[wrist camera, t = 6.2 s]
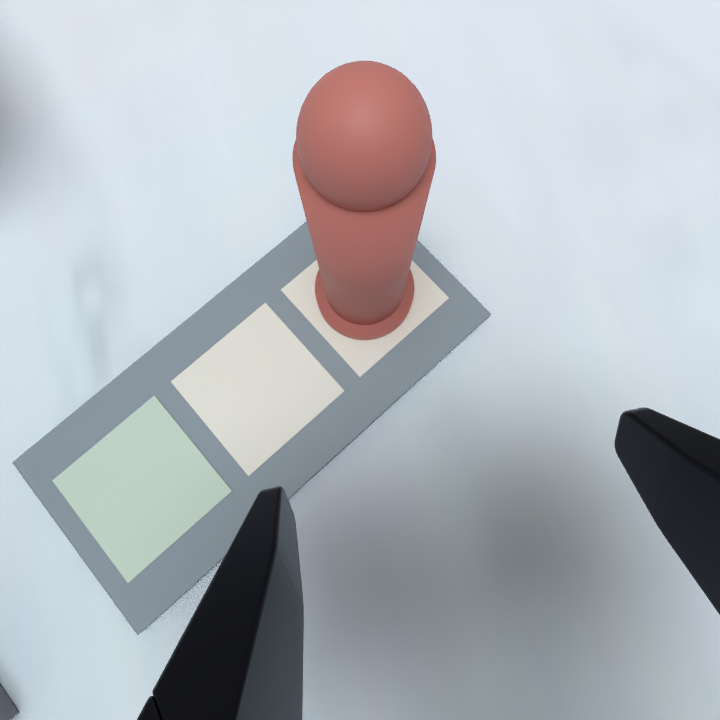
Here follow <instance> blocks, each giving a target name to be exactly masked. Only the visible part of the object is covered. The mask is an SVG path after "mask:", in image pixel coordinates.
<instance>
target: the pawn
mask: <svg viewBox="0 0 720 720" xmlns="http://www.w3.org/2000/svg"><path fill="white" fill-rule="evenodd" d="M435 164H436V151H435V146H434V142H433V139H432V125H431V119H430V115H429V112H428V109H427V106H426V103H425V101H424V99H423V97H422V96H421V94H420V92H419V91H418V89H417V88H416V86H415V85H414V84H413V83H412V82H411V81H410V80H409V79H408V78H407V77H406V76H405V75H403V74H402V73H401V72H399V71H398V70H396V69H394V68H392V67H390V66H388V65H385V64H382V63H378V62H374V61H356V62H351V63H347V64H344V65H341V66H339V67H337V68H335V69H333V70H331V71H330V72H328V73H327V74H325V75H324V76H323V77H322V78H321V79H320V80H319V81H318V82H317V83H316V84H315V85H314V86H313V88H312V89H311V90H310V92H309V93H308V95H307V97H306V99H305V101H304V103H303V105H302V107H301V111H300V114H299V117H298V122H297V130H296V141H295V144H294V149H293V168H294V173H295V177H296V181H297V185H298V189H299V193H300V196H301V200H302V204H303V208H304V212H305V216H306V220H307V224H308V227H309V231H310V235H311V239H312V243H313V247H314V251H315V255H316V259H317V262H318V266H319V270H318V272H317V276H316V280H315V296H316V300H317V304H318V307H319V310H320V312H321V314H322V316H323V318H324V319H325V321H326V322H327V323H328V325H329V326H331V327H332V328H333V329H334V330H335V331H337V332H338V333H340V334H341V335H343V336H346V337H348V338H352V339H356V340H373V339H377V338H381V337H383V336H386V335H388V334H389V333H391V332H393V331H394V330H395V329H397V328H398V327H399V326H400V325H401V324H402V322H403V321H404V320H405V318H406V316H407V315H408V312H409V310H410V307H411V304H412V301H413V297H414V279H413V275H412V272H411V269H410V266H411V262H412V258H413V254H414V250H415V246H416V242H417V238H418V234H419V230H420V226H421V222H422V218H423V214H424V210H425V206H426V202H427V198H428V194H429V190H430V186H431V182H432V178H433V174H434V170H435Z"/></svg>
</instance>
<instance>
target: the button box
mask: <svg viewBox="0 0 720 720" xmlns="http://www.w3.org/2000/svg"><path fill="white" fill-rule="evenodd" d="M18 713H19V712H18V710H17V709H16V707H15V706H14V704H13V703H12V701H11V700H10V698H9V697H8V695H7V694H6V692H5V691H4V689H3V687H2V686H1V684H0V720H11V719H12V718H13V717H14V716H15V715H17V714H18Z"/></svg>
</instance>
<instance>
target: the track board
mask: <svg viewBox="0 0 720 720" xmlns="http://www.w3.org/2000/svg"><path fill="white" fill-rule="evenodd" d="M410 269H411V272H412V275H413V279H414V297H413V301H412V304H411V307H410V310H409V312H408V315H407V316H406V318H405V320H404V321H403V322H402V324H401V325H400V326H399V327H398V328H397V329H395V330H394V331H393V332H391V333H389V334H388V335H386V336H383V337H381V338H377V339H373V340H356V339H352V338H348V337H346V336H343V335H341V334H340V333H338V332H337V331H335V330H334V329H333V328H332V327H331V326H329V325H328V323H327V322H326V321H325V319H324V318H323V316H322V314H321V312H320V310H319V307H318V304H317V300H316V296H315V280H316V276H317V272H318V270H319V266H318V262H317V259H316V255H315V251H314V247H313V243H312V239H311V235H310V231H309V227H308V224H307V222H305V223H304V224H303V225H302V226H300V227H299V228H298V229H297V230H296V231H294V232H293V233H292V234H291V235H289V236H288V237H287V238H286V239H285V240H283V241H282V242H281V243H280V244H278V245H277V246H276V247H275V248H274V249H272V250H271V251H270V252H269V253H267V254H266V255H265V256H264V257H263V258H261V259H260V260H259V261H258V262H256V263H255V264H254V265H253V266H252V267H250V268H249V269H248V270H247V271H246V272H244V273H243V274H242V275H241V276H239V277H238V278H237V279H236V280H235V281H233V282H232V283H231V284H230V285H228V286H227V287H226V288H225V289H224V290H222V291H221V292H220V293H219V294H217V295H216V296H215V297H214V298H213V299H211V300H210V301H209V302H208V303H206V304H205V305H204V306H203V307H202V308H200V309H199V310H198V311H197V312H195V313H194V314H193V315H192V316H191V317H189V318H188V319H187V320H186V321H184V322H183V323H182V324H181V325H180V326H178V327H177V328H176V329H175V330H174V331H172V332H171V333H170V334H169V335H167V336H166V337H165V338H164V339H163V340H161V341H160V342H159V343H158V344H156V345H155V346H154V347H153V348H152V349H150V350H149V351H148V352H147V353H145V354H144V355H143V356H142V357H141V358H139V359H138V360H137V361H136V362H134V363H133V364H132V365H131V366H130V367H128V368H127V369H126V370H125V371H123V372H122V373H121V374H120V375H119V376H117V377H116V378H115V379H114V380H112V381H111V382H110V383H109V384H108V385H106V386H105V387H104V388H103V389H102V390H100V391H99V392H98V393H97V394H95V395H94V396H93V397H92V398H91V399H89V400H88V401H87V402H86V403H84V404H83V405H82V406H81V407H80V408H78V409H77V410H76V411H75V412H73V413H72V414H71V415H70V416H69V417H67V418H66V419H65V420H64V421H62V422H61V423H60V424H59V425H58V426H56V427H55V428H54V429H53V430H51V431H50V432H49V433H48V434H47V435H45V436H44V437H43V438H42V439H40V440H39V441H38V442H37V443H36V444H34V445H33V446H32V447H31V448H30V449H28V450H27V451H26V452H25V453H23V454H22V455H21V456H20V457H19V458H17V459H16V460H15V461H14V462H12V463H13V464H14V466H15V467H16V468H17V470H18V471H19V473H20V474H21V475H22V477H23V478H24V479H25V481H26V482H27V484H28V485H29V486H30V488H31V489H32V490H33V492H34V493H35V495H36V496H37V497H38V499H39V500H40V501H41V503H42V504H43V506H44V507H45V508H46V510H47V511H48V512H49V514H50V515H51V517H52V518H53V519H54V521H55V522H56V523H57V525H58V526H59V528H60V529H61V530H62V532H63V533H64V534H65V536H66V537H67V539H68V540H69V541H70V543H71V544H72V545H73V547H74V548H75V550H76V551H77V552H78V554H79V555H80V556H81V558H82V559H83V561H84V562H85V563H86V565H87V566H88V567H89V569H90V570H91V572H92V573H93V574H94V576H95V577H96V578H97V580H98V581H99V583H100V584H101V585H102V587H103V588H104V589H105V591H106V592H107V594H108V595H109V596H110V598H111V599H112V600H113V602H114V603H115V605H116V606H117V607H118V609H119V610H120V611H121V613H122V614H123V616H124V617H125V618H126V620H127V621H128V622H129V624H130V625H131V627H132V628H133V629H134V631H135V632H136V633H137V635H138V634H140V633H141V632H142V631H143V630H144V629H145V628H147V627H148V626H149V625H150V624H151V623H152V622H153V621H154V620H155V619H156V618H158V617H159V616H160V615H161V614H162V613H163V612H164V611H165V610H166V609H167V608H169V607H170V606H171V605H172V604H173V603H174V602H175V601H176V600H177V599H178V598H180V597H181V596H182V595H183V594H184V593H185V592H186V591H187V590H188V589H189V588H191V587H192V586H193V585H194V584H195V583H196V582H197V581H198V580H199V579H200V578H202V577H203V576H204V575H205V574H206V573H207V572H208V571H209V570H210V569H211V568H213V567H214V566H215V565H216V564H217V563H218V562H219V561H220V560H221V559H222V558H224V557H225V555H226V553H227V551H228V549H229V547H230V545H231V544H232V542H233V540H234V538H235V536H236V534H237V532H238V530H239V529H240V527H241V525H242V523H243V521H244V519H245V517H246V516H247V514H248V512H249V510H250V508H251V506H252V504H253V502H254V501H255V499H256V497H257V495H258V493H259V492H260V491H261V490H263V489H268V488H272V487H277V486H281V487H283V488H284V490H285V492H286V495H287V498H288V499H289V498H290V497H291V496H292V495H293V494H294V493H295V492H296V491H297V490H298V489H300V488H301V487H302V486H303V485H304V484H305V483H306V482H307V481H308V480H309V479H311V478H312V477H313V476H314V475H315V474H316V473H317V472H318V471H319V470H320V469H322V468H323V467H324V466H325V465H326V464H327V463H328V462H329V461H330V460H331V459H333V458H334V457H335V456H336V455H337V454H338V453H339V452H340V451H341V450H342V449H344V448H345V447H346V446H347V445H348V444H349V443H350V442H351V441H352V440H353V439H355V438H356V437H357V436H358V435H359V434H360V433H361V432H362V431H363V430H364V429H366V428H367V427H368V426H369V425H370V424H371V423H372V422H373V421H374V420H375V419H377V418H378V417H379V416H380V415H381V414H382V413H383V412H384V411H385V410H386V409H388V408H389V407H390V406H391V405H392V404H393V403H394V402H395V401H396V400H397V399H399V398H400V397H401V396H402V395H403V394H404V393H405V392H406V391H407V390H408V389H410V388H411V387H412V386H413V385H414V384H415V383H416V382H417V381H418V380H420V379H421V378H422V377H423V376H424V375H425V374H426V373H427V372H428V371H429V370H431V369H432V368H433V367H434V366H435V365H436V364H437V363H438V362H439V361H440V360H442V359H443V358H444V357H445V356H446V355H447V354H448V353H449V352H450V351H451V350H453V349H454V348H455V347H456V346H457V345H458V344H459V343H460V342H461V341H462V340H464V339H465V338H466V337H467V336H468V335H469V334H470V333H471V332H472V331H473V330H475V329H476V328H477V327H478V326H479V325H480V324H481V323H482V322H483V321H484V320H486V319H487V318H488V317H489V316H490V315H491V314H490V312H489V311H488V310H487V309H486V308H485V307H484V306H483V305H482V304H481V303H480V302H479V301H478V300H477V299H476V298H475V297H474V296H473V295H472V294H471V293H470V292H469V291H468V290H467V289H466V288H465V287H464V286H463V285H462V284H461V283H460V282H459V281H458V280H457V279H456V278H455V277H454V276H453V275H452V274H451V273H450V272H449V271H448V270H447V269H446V268H445V267H444V266H443V265H442V264H441V263H440V262H439V261H438V260H437V259H436V258H435V257H434V256H433V255H432V254H431V253H430V252H429V251H428V250H427V249H426V248H425V247H424V246H423V245H422V244H421V243H420V242H419V241H418V240H417V242H416V246H415V250H414V254H413V258H412V262H411V266H410Z"/></svg>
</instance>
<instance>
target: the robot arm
mask: <svg viewBox="0 0 720 720" xmlns="http://www.w3.org/2000/svg"><path fill="white" fill-rule="evenodd" d="M615 450H616V453H617V455H618V457H619V459H620V461H621V462H622V464H623V466H624V468H625V469H626V471H627V473H628V475H629V477H630V478H631V480H632V482H633V484H634V485H635V487H636V489H637V491H638V493H639V494H640V496H641V498H642V500H643V501H644V503H645V505H646V507H647V509H648V510H649V512H650V514H651V516H652V517H653V519H654V521H655V522H656V524H657V526H658V527H659V529H660V530H661V532H662V533H663V535H664V536H665V538H666V539H667V541H668V542H669V543H670V545H671V546H672V548H673V549H674V550H675V552H676V553H677V555H678V556H679V558H680V559H681V560H682V562H683V563H684V565H685V566H686V567H687V569H688V570H689V572H690V573H691V575H692V576H693V577H694V579H695V580H696V582H697V583H698V584H699V586H700V587H701V589H702V590H703V592H704V593H705V594H706V596H707V597H708V599H709V600H710V601H711V603H712V604H713V606H714V607H715V609H716V610H717V611H718V613H719V614H720V439H718V438H715V437H713V436H711V435H709V434H706V433H704V432H702V431H699V430H697V429H695V428H693V427H690V426H688V425H686V424H684V423H681V422H679V421H677V420H674V419H672V418H670V417H668V416H665V415H663V414H661V413H658V412H656V411H654V410H652V409H649V408H638V409H633V410H628V411H625V412H623V413H622V415H621V416H620V420H619V425H618V429H617V433H616V438H615ZM303 630H304V611H303V593H302V583H301V573H300V563H299V552H298V542H297V532H296V523H295V518H294V514H293V511H292V508H291V506H290V503H289V500H288V498H287V495H286V492H285V490H284V488H283V487H281V486H277V487H272V488H268V489H263V490H261V491H260V492H259V493H258V495H257V497H256V499H255V501H254V502H253V504H252V506H251V508H250V510H249V512H248V514H247V516H246V517H245V519H244V521H243V523H242V525H241V527H240V529H239V530H238V532H237V534H236V536H235V538H234V540H233V542H232V544H231V545H230V547H229V549H228V551H227V553H226V555H225V557H224V559H223V560H222V562H221V564H220V566H219V568H218V570H217V572H216V573H215V575H214V577H213V579H212V581H211V583H210V585H209V587H208V588H207V590H206V592H205V594H204V596H203V598H202V600H201V601H200V603H199V605H198V607H197V609H196V611H195V613H194V615H193V616H192V618H191V620H190V622H189V624H188V626H187V628H186V630H185V631H184V633H183V635H182V637H181V639H180V641H179V643H178V644H177V646H176V648H175V650H174V652H173V654H172V656H171V658H170V659H169V661H168V663H167V665H166V667H165V669H164V671H163V672H162V674H161V676H160V678H159V680H158V682H157V684H156V686H155V687H154V689H153V696H150V697H149V698H148V700H147V702H146V704H145V706H144V707H143V709H142V711H141V713H140V715H139V717H138V719H137V720H302V697H303Z"/></svg>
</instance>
